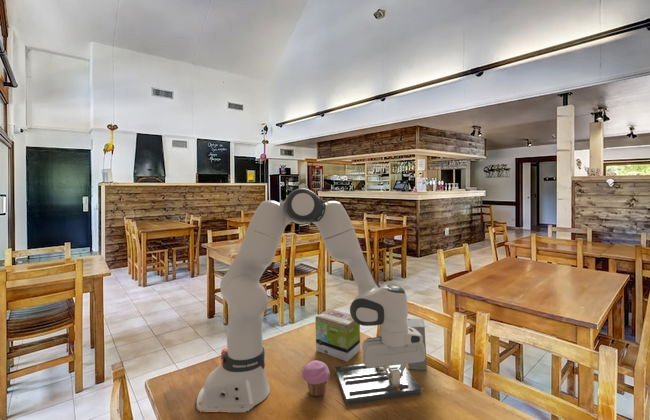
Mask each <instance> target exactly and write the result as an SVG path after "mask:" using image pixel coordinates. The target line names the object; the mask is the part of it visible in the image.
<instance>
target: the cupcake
mask: <svg viewBox="0 0 650 420" xmlns="http://www.w3.org/2000/svg"><path fill="white" fill-rule="evenodd" d="M330 375H331V372H330V368H329V367H328V365H327V364H326V363H325V362H323V361H321V360H316V359H315V360H312V361H310V362H307V363H306V364H305V365H304V367H303V370H302V378H303V380H304V381H305V383H307V388H308V391H309V394H310V395H311V396H313V397H315V396H316V397H317V396H323V395H325V394H326V387H327V383H328V381H329V379H330Z"/></svg>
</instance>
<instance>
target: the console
mask: <svg viewBox="0 0 650 420" xmlns="http://www.w3.org/2000/svg"><path fill="white" fill-rule="evenodd" d="M396 366H397V367H398V369H399V368H400V366H401V364H400V365H396ZM387 370H389V369H387ZM334 373H335V376H336V378H337V381H338V384H339V387H340V390H341V393H342V396H343V399H344V402H345V404H346V406H348V405H357V404H364V403H372V402H379V401H386V400H392V399H393V400H395V399H399V398H409V397H414V396H422V388H421V386H420V385H419V384H418V383H417V381H416V379H415V378H414V377H413V376H412V374H411V373H410V371H409V370H408V369H407V367H406V368H405V370H404V371H403V376H401V377H400V384H396V385H392V383H391V381H390V380H389V378H387V377H386V374H385V370H384V368H383V367H376V368H367V367H366V366H365V365H364V363H363V362H362V363H356V364H347V365H338V366H335V367H334Z"/></svg>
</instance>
